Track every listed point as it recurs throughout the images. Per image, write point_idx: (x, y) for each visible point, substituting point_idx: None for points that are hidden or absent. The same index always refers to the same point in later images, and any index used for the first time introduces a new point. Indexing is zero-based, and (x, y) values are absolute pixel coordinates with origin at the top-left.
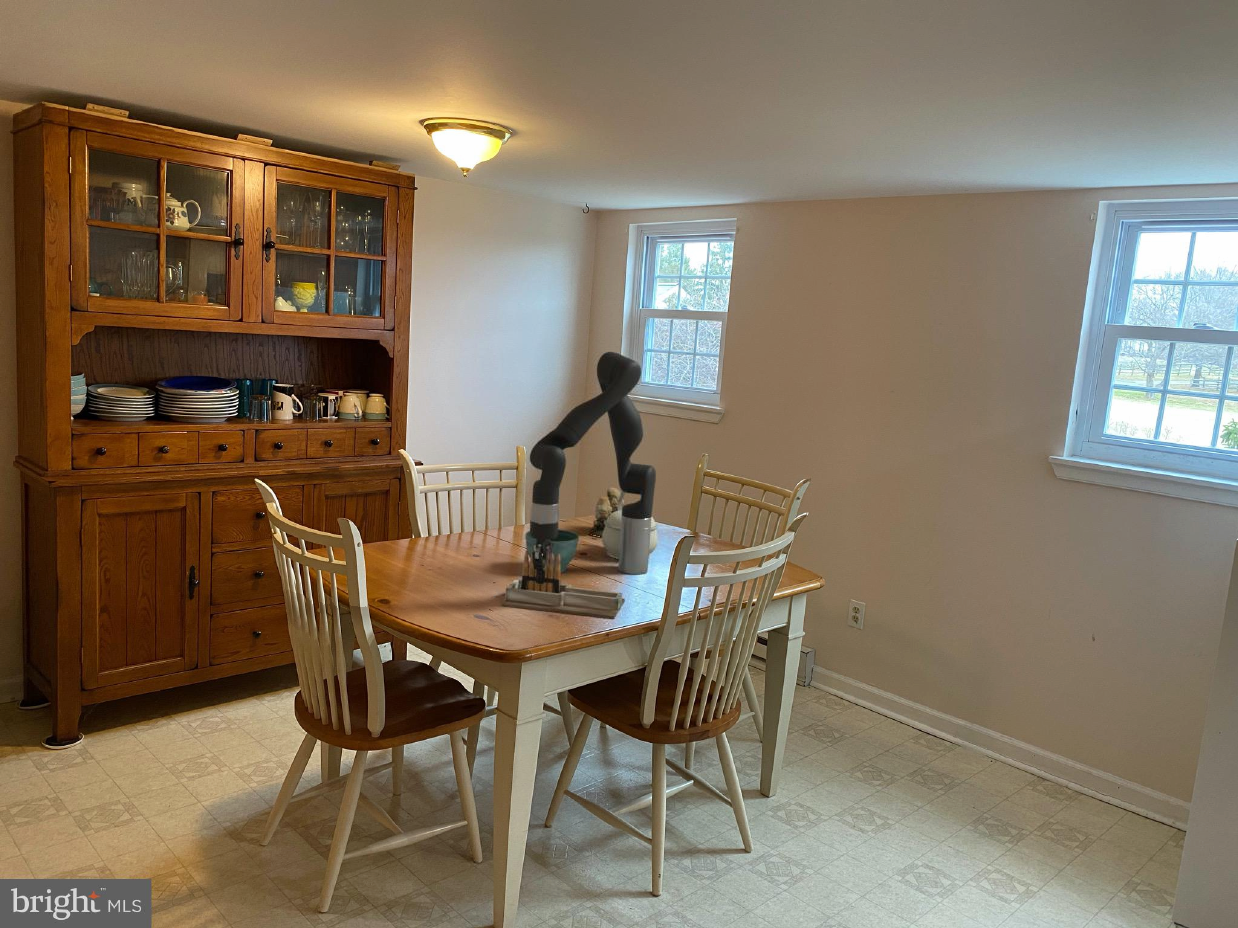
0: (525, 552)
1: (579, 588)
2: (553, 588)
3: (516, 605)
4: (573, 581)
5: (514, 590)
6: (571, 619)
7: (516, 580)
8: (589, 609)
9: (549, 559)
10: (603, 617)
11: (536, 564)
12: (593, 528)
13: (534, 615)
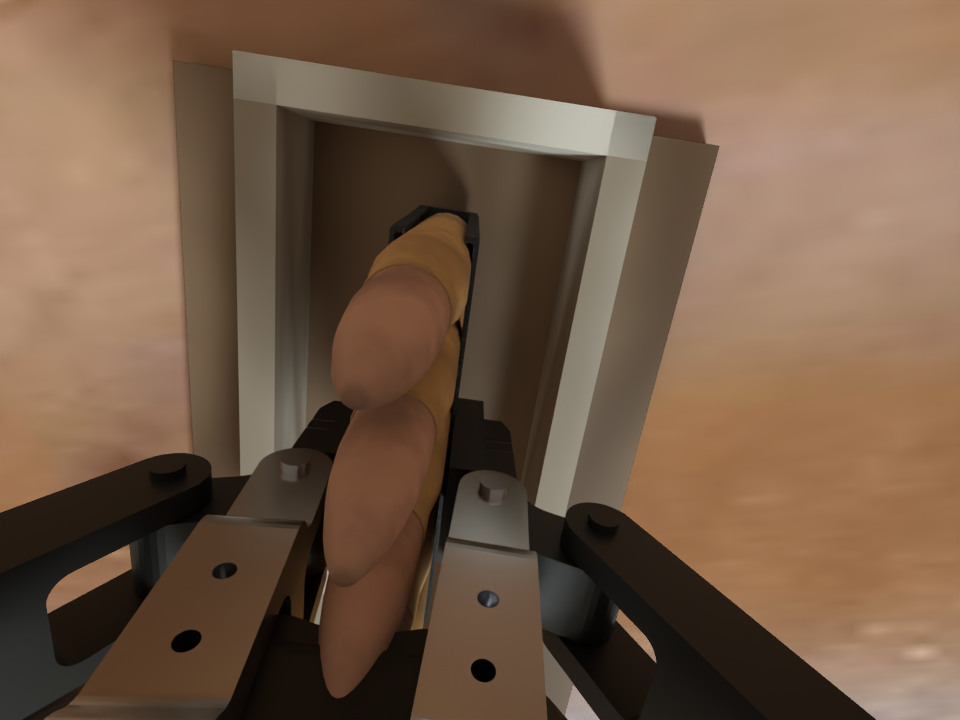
0: (352, 336)
1: None
2: (531, 474)
3: (184, 206)
4: (948, 524)
5: (240, 161)
6: (107, 579)
7: (594, 128)
8: None
9: (561, 662)
10: None
11: (171, 522)
12: None
13: (70, 364)
